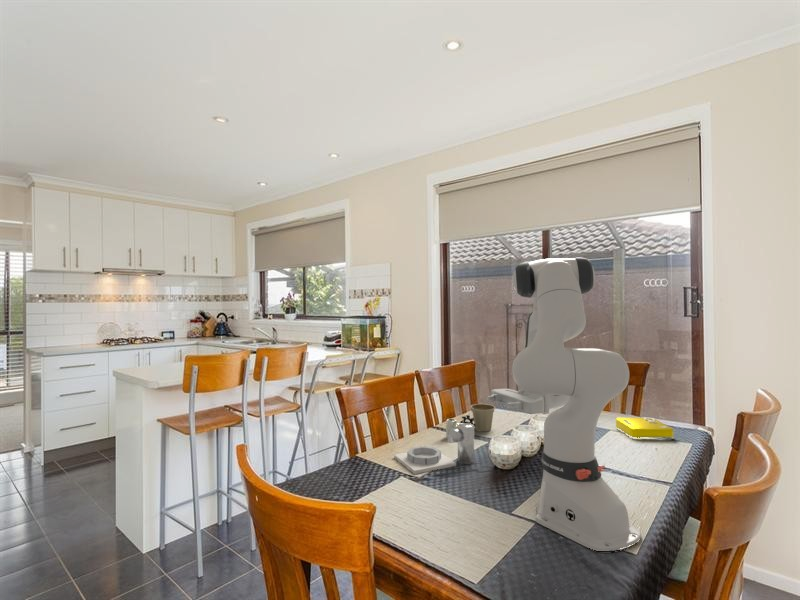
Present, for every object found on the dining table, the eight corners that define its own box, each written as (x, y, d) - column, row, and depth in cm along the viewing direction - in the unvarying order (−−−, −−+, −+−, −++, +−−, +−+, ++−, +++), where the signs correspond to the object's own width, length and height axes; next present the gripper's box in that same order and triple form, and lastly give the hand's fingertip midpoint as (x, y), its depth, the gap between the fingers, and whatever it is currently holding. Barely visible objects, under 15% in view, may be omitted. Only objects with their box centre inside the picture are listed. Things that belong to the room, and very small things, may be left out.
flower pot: (468, 431, 164) (468, 409, 163) (472, 424, 173) (472, 403, 172) (494, 434, 161) (494, 410, 161) (496, 426, 170) (496, 404, 170)
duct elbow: (477, 462, 134) (477, 426, 133) (454, 467, 130) (454, 430, 130) (468, 456, 138) (468, 422, 138) (445, 461, 134) (445, 425, 134)
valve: (454, 441, 153) (475, 434, 161) (454, 422, 153) (475, 416, 161) (440, 437, 158) (461, 430, 166) (440, 419, 158) (461, 413, 166)
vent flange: (455, 465, 131) (455, 455, 131) (414, 474, 125) (414, 463, 125) (432, 450, 143) (432, 441, 143) (394, 457, 137) (394, 448, 137)
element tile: (613, 428, 169) (613, 416, 169) (653, 428, 169) (653, 416, 169) (632, 441, 154) (632, 427, 154) (676, 441, 154) (676, 428, 154)
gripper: (509, 383, 155) (478, 386, 149) (552, 395, 137) (518, 399, 131) (509, 400, 155) (478, 404, 149) (552, 415, 137) (518, 420, 131)
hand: (497, 402), depth 140 cm, fingers open, 8 cm apart
